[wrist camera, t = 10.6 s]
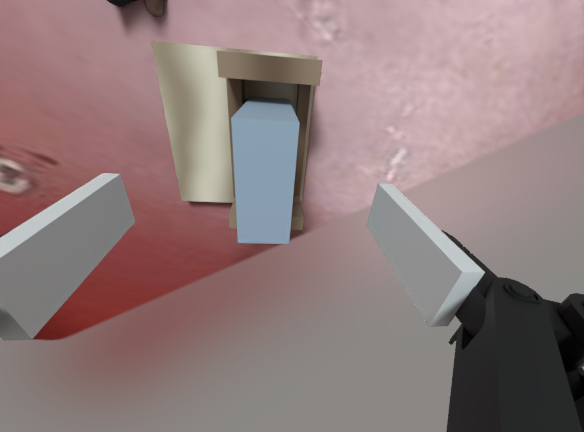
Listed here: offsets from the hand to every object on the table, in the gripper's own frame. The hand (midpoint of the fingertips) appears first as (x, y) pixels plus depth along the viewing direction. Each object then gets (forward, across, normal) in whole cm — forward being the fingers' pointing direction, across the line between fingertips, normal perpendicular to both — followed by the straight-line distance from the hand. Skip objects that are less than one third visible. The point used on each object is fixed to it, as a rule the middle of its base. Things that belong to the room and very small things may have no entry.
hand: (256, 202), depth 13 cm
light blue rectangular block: (+14, +1, 0) cm, 14 cm away
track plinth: (+15, -2, 0) cm, 15 cm away
